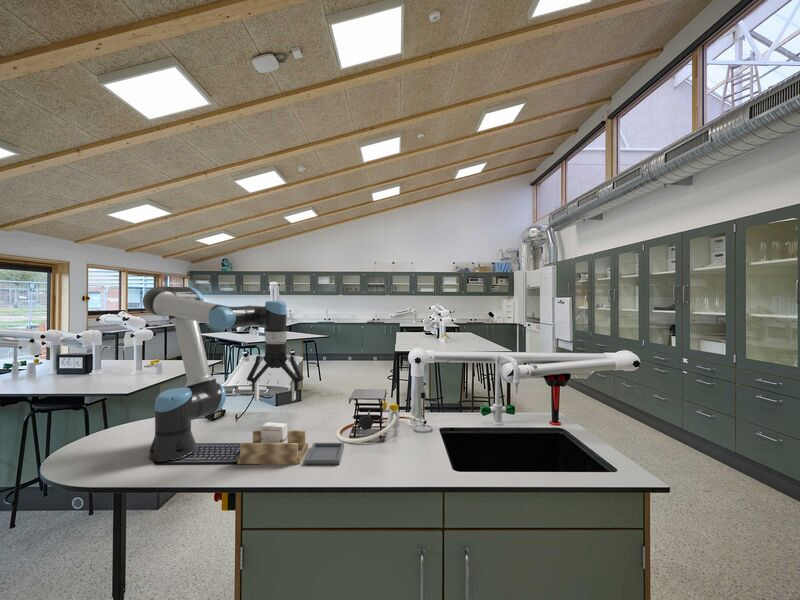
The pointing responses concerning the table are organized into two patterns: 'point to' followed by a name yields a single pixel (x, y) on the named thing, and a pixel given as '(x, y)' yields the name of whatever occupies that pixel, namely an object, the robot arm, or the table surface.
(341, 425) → the table surface
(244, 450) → the rack
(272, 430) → the ink box
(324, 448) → the tray
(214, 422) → the table surface
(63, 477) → the table surface
